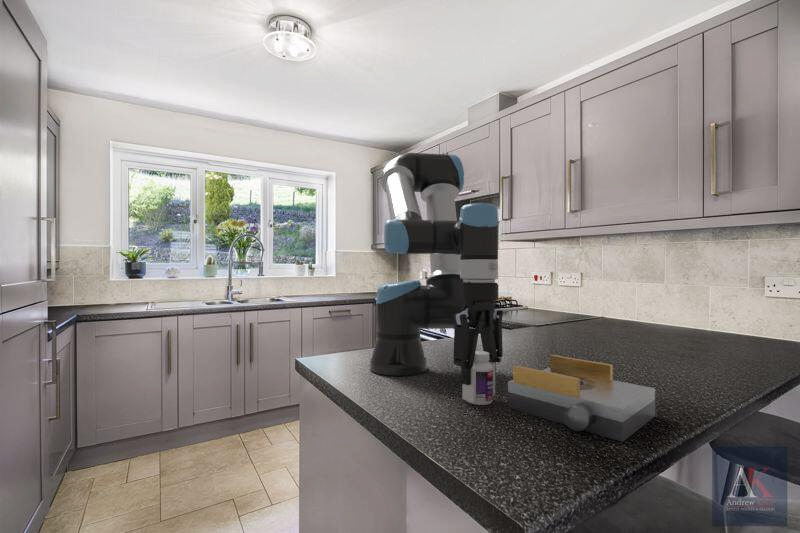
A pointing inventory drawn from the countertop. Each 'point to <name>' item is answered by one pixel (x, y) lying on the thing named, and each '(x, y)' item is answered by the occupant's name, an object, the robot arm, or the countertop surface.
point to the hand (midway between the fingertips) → (479, 396)
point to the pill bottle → (483, 378)
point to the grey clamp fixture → (582, 397)
